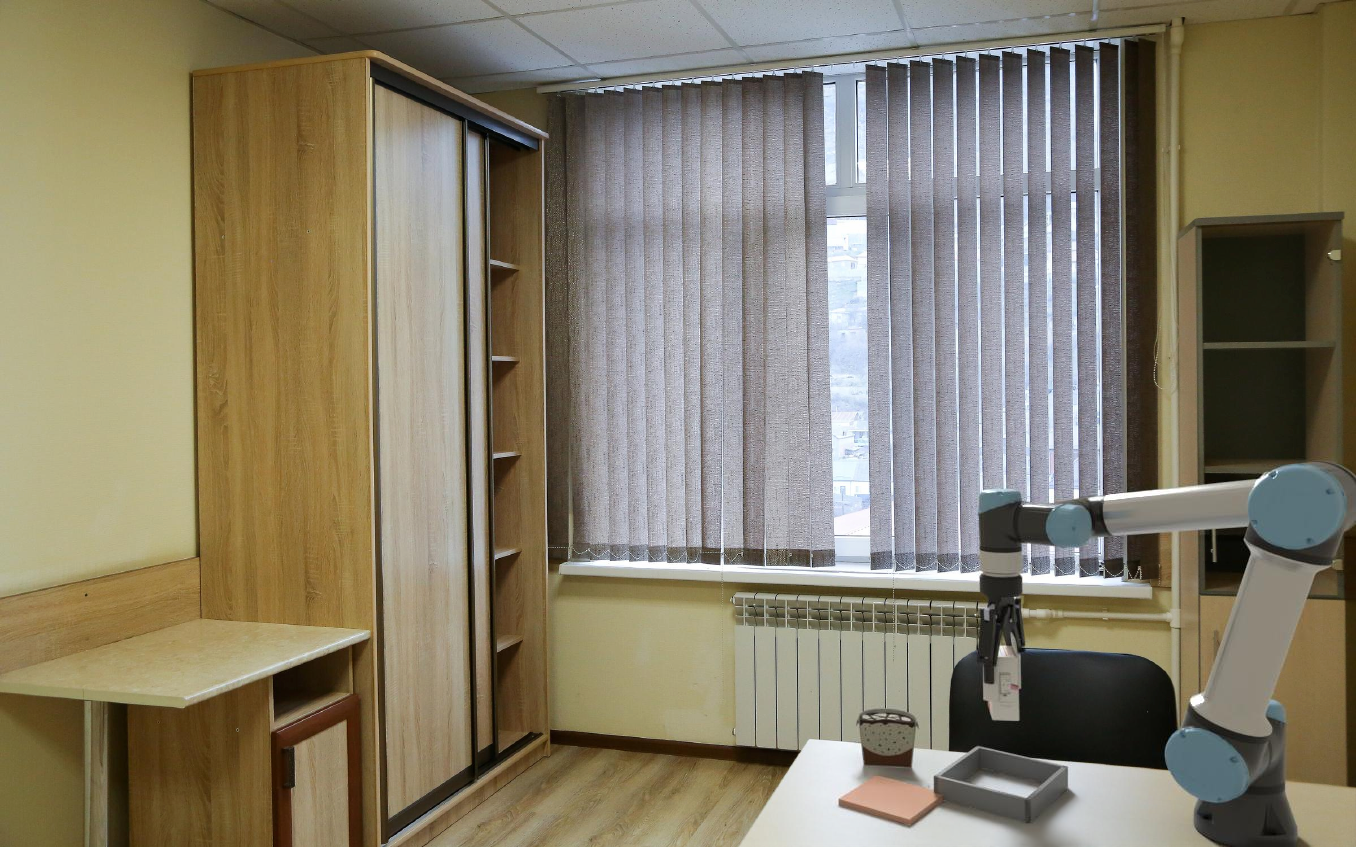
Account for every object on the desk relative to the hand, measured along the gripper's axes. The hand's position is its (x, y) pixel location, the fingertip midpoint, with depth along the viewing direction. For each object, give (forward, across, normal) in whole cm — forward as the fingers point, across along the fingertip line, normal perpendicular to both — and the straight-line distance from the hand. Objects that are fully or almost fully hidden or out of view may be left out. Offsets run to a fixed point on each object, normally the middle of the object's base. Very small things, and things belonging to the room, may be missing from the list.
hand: (1002, 693), depth 181 cm
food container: (+19, -1, -24) cm, 31 cm away
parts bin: (+19, 0, 0) cm, 19 cm away
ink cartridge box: (+4, 0, 0) cm, 4 cm away
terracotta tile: (+18, +16, -14) cm, 28 cm away
